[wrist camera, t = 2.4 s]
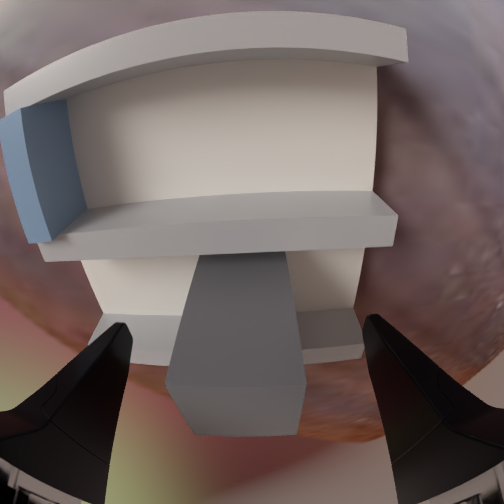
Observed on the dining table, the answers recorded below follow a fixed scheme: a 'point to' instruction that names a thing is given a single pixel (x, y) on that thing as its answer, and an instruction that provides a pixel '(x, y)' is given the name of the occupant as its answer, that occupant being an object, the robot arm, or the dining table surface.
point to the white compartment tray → (208, 164)
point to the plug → (239, 348)
